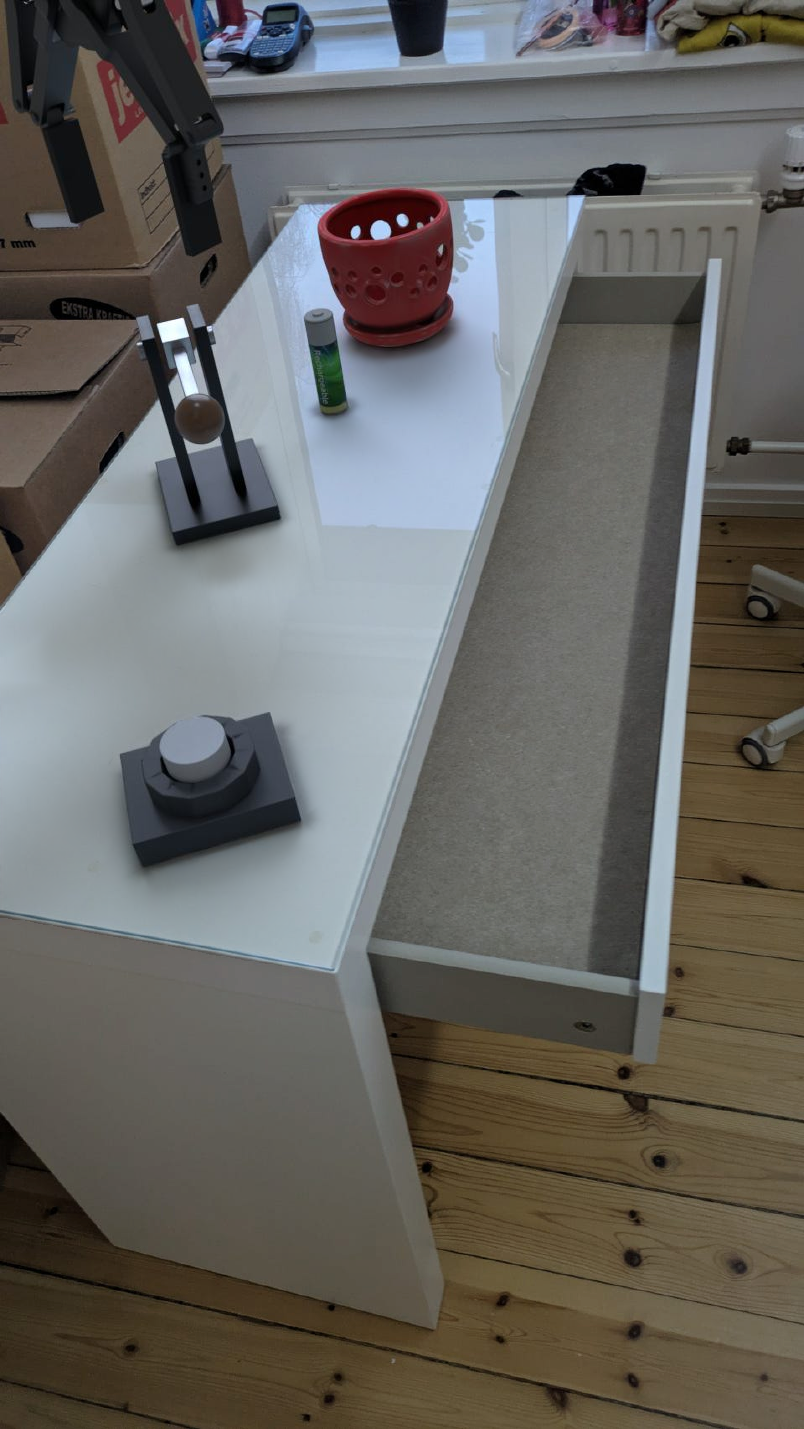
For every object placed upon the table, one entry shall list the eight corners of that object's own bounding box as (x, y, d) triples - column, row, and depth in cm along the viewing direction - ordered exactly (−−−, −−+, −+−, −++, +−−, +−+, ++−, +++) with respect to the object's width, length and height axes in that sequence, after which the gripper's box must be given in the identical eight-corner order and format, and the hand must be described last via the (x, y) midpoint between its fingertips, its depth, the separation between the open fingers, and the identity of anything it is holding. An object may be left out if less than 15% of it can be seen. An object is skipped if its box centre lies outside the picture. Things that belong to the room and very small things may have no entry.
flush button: (171, 791, 66) (163, 771, 64) (163, 746, 68) (155, 727, 67) (236, 772, 66) (229, 752, 65) (225, 729, 69) (218, 709, 68)
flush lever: (233, 447, 80) (223, 407, 77) (185, 459, 80) (173, 419, 77) (200, 348, 88) (190, 308, 85) (156, 358, 88) (145, 318, 85)
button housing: (142, 867, 66) (123, 825, 64) (129, 776, 72) (111, 734, 69) (301, 820, 68) (289, 777, 65) (276, 734, 73) (264, 691, 70)
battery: (315, 407, 104) (297, 312, 98) (339, 398, 105) (323, 302, 99) (328, 418, 103) (311, 322, 96) (353, 408, 103) (338, 312, 97)
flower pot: (351, 302, 120) (334, 188, 112) (469, 300, 117) (460, 183, 109) (321, 359, 111) (300, 240, 103) (447, 358, 108) (437, 235, 100)
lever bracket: (281, 518, 92) (240, 340, 81) (176, 545, 90) (120, 368, 79) (255, 450, 100) (215, 279, 89) (158, 474, 99) (106, 304, 88)
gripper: (230, -150, 60) (299, 243, 74) (-17, -144, 73) (83, 188, 88) (123, -122, 56) (218, 285, 71) (-117, -121, 69) (5, 222, 84)
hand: (143, 233), depth 79 cm, fingers open, 13 cm apart
